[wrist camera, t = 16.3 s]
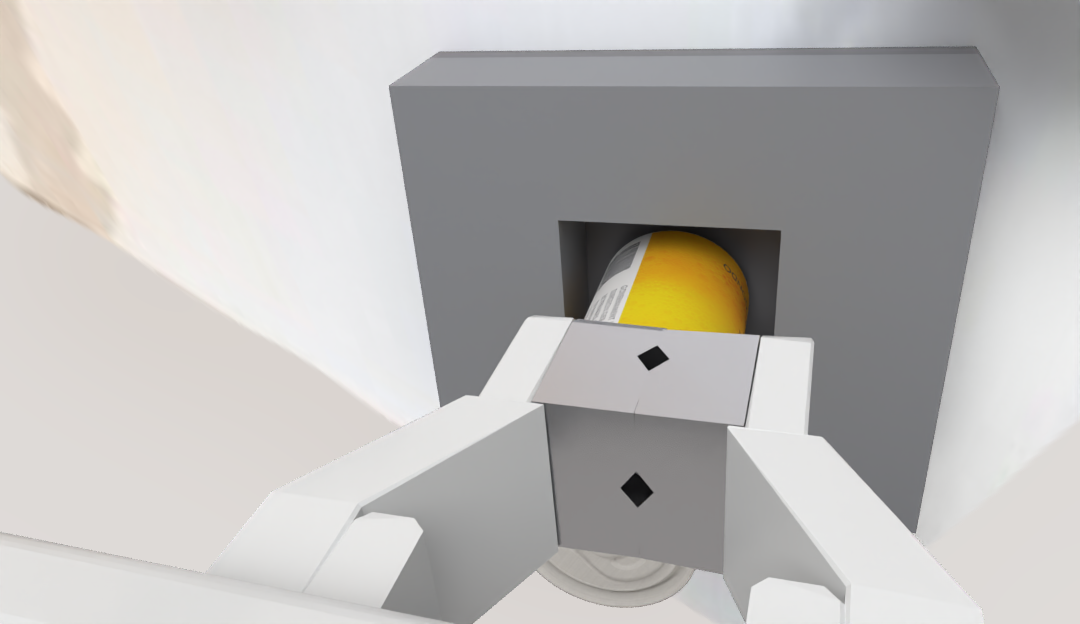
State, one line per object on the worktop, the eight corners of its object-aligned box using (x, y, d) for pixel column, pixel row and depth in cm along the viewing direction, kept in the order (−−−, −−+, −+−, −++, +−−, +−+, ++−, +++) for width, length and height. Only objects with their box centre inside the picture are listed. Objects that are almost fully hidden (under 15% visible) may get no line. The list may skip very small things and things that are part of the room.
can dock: (975, 46, 30) (999, 87, 26) (905, 454, 39) (915, 533, 35) (439, 51, 35) (388, 85, 31) (485, 409, 44) (450, 472, 40)
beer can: (684, 372, 39) (619, 645, 26) (578, 288, 38) (461, 529, 26) (782, 286, 35) (759, 554, 23) (668, 193, 35) (581, 417, 22)
